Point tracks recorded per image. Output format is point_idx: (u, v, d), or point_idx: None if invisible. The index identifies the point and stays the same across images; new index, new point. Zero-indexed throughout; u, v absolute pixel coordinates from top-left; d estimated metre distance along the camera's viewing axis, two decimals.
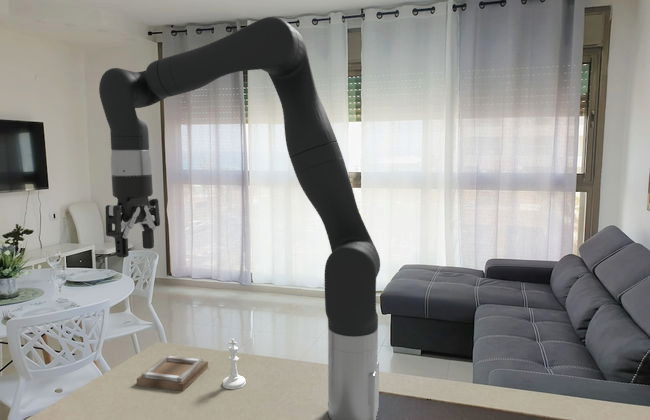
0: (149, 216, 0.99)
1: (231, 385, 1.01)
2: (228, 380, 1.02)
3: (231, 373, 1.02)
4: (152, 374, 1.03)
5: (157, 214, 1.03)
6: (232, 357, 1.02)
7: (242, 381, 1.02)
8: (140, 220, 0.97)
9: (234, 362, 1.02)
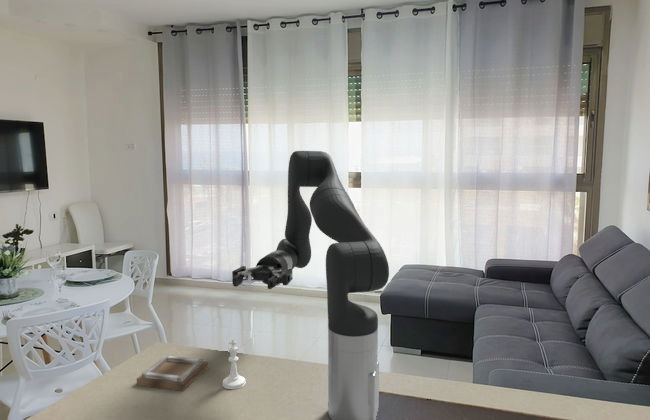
0: (272, 269, 1.18)
1: (231, 385, 1.01)
2: (228, 380, 1.02)
3: (231, 373, 1.02)
4: (152, 374, 1.03)
5: (287, 272, 1.17)
6: (232, 357, 1.02)
7: (242, 381, 1.02)
8: (263, 272, 1.18)
9: (234, 362, 1.02)
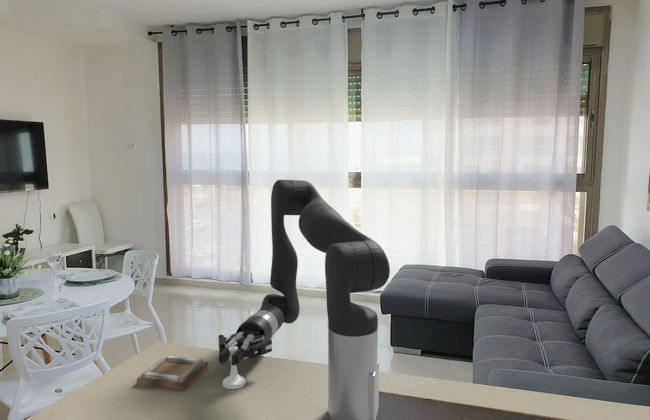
0: (248, 339, 1.06)
1: (231, 385, 1.01)
2: (228, 380, 1.02)
3: (231, 373, 1.02)
4: (152, 374, 1.03)
5: (259, 344, 1.05)
6: None
7: (242, 381, 1.02)
8: (240, 339, 1.08)
9: None
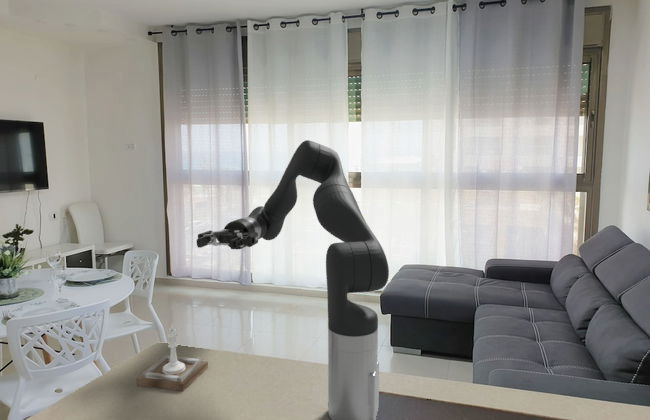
0: (237, 232, 1.19)
1: (169, 371, 1.04)
2: (167, 366, 1.06)
3: (170, 359, 1.06)
4: (152, 374, 1.03)
5: (252, 235, 1.18)
6: (171, 344, 1.05)
7: (181, 367, 1.06)
8: (228, 235, 1.19)
9: (173, 348, 1.06)
